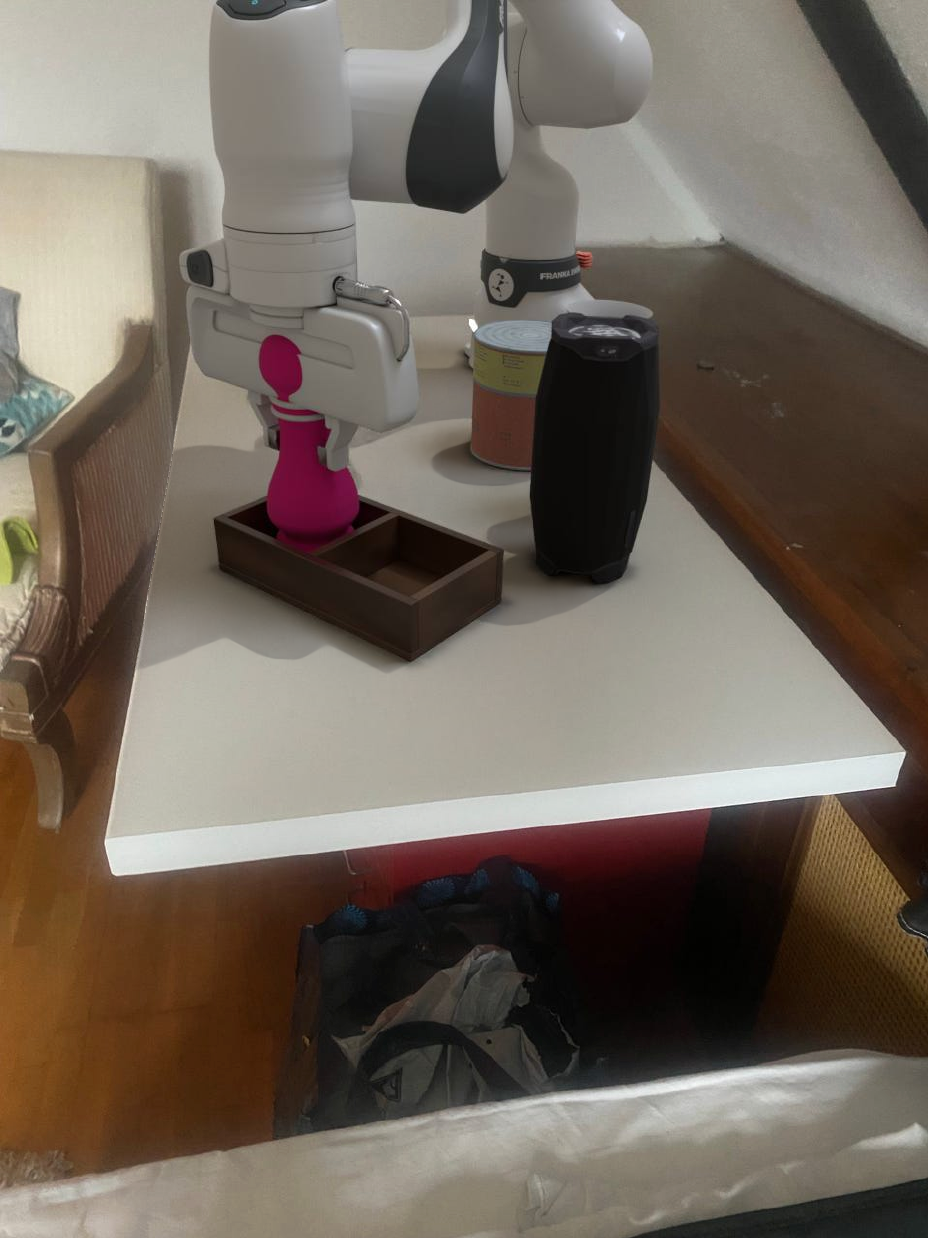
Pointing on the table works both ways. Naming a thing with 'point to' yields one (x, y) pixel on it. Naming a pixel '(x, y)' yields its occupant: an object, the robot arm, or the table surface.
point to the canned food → (507, 390)
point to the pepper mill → (302, 461)
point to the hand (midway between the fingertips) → (306, 457)
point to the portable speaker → (593, 442)
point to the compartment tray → (370, 574)
